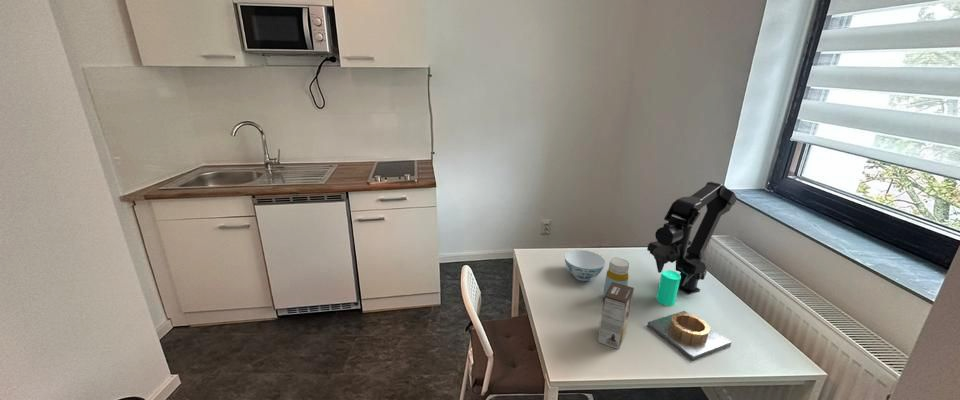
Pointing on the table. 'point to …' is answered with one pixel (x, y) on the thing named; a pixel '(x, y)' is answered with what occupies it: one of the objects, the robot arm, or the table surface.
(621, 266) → the bottle
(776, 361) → the table surface
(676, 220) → the robot arm
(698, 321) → the square plate with hole
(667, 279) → the candle
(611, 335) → the coffee box
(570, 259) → the chinaware
